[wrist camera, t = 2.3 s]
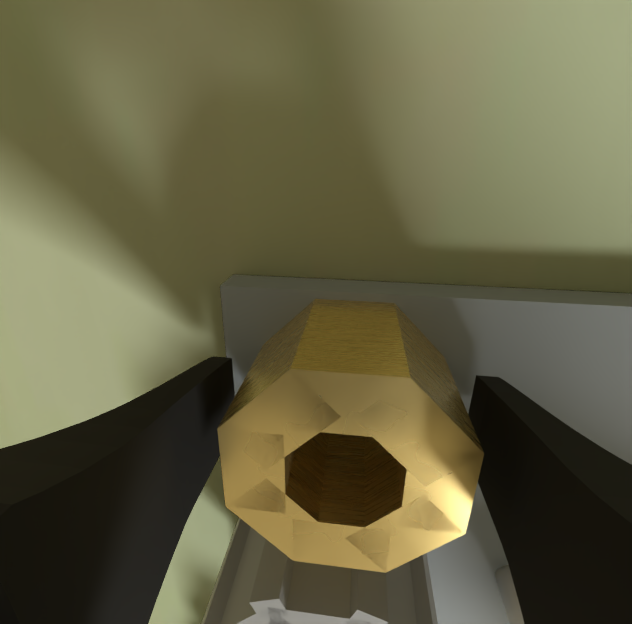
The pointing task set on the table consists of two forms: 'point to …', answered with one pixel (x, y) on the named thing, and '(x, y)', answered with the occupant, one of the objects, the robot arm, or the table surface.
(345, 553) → the brass gear
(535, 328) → the gear board
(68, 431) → the robot arm
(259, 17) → the table surface
